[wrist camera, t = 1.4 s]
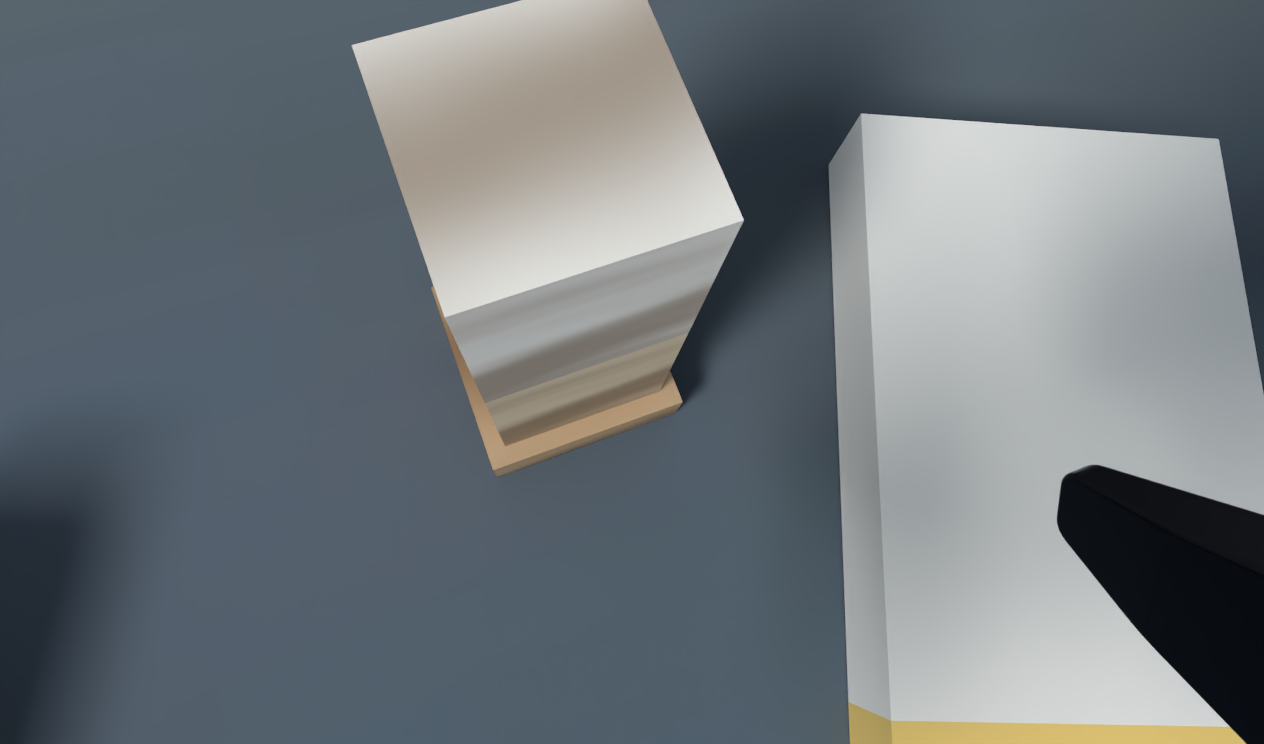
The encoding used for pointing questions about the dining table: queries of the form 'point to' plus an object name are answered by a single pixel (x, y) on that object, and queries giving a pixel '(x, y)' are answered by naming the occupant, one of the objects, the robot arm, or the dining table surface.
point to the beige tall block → (555, 211)
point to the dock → (1025, 416)
